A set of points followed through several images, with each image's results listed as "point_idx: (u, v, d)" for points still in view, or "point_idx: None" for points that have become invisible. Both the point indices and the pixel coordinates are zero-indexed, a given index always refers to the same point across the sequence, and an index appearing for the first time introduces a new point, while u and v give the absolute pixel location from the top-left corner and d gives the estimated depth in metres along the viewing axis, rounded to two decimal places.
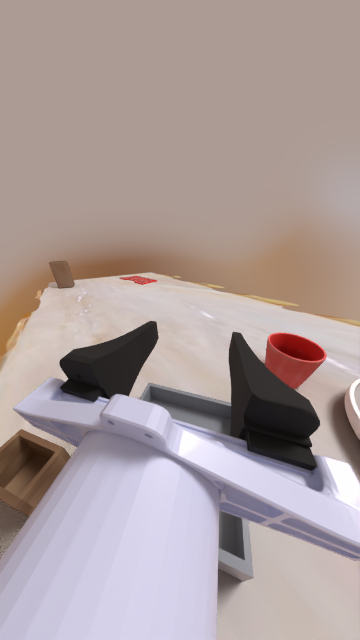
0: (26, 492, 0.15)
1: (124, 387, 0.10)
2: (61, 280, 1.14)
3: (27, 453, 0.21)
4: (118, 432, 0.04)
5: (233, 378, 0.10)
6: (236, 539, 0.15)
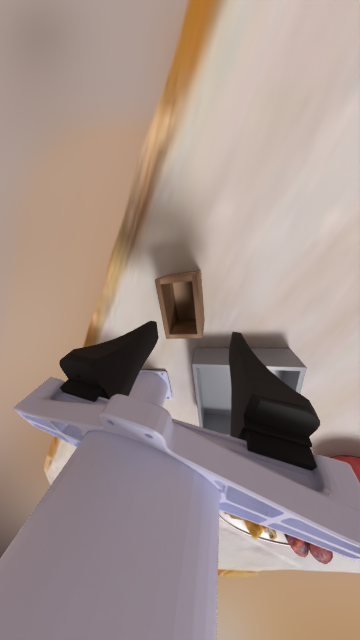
0: (173, 337, 0.19)
1: (124, 387, 0.10)
2: None
3: None
4: (118, 432, 0.04)
5: (233, 378, 0.10)
6: (210, 415, 0.31)
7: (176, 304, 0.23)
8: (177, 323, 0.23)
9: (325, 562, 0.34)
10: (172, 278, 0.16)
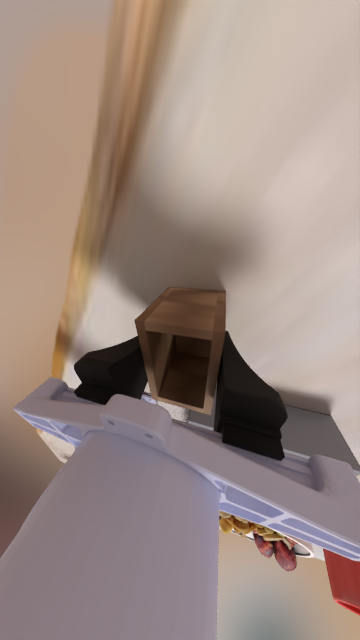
0: (163, 400, 0.12)
1: (137, 390, 0.10)
2: None
3: None
4: (118, 432, 0.04)
5: (218, 375, 0.10)
6: None
7: None
8: (174, 363, 0.15)
9: (288, 570, 0.36)
10: (170, 326, 0.08)
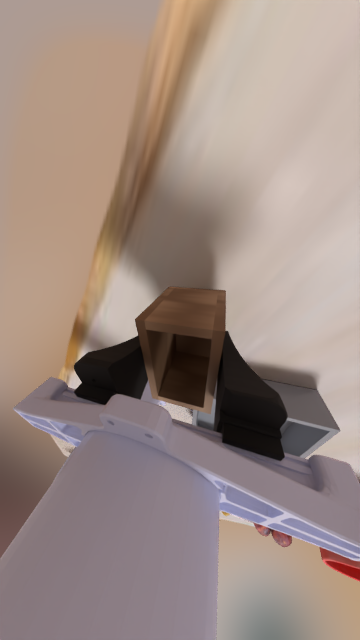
0: (163, 399, 0.12)
1: (137, 390, 0.10)
2: None
3: None
4: (118, 432, 0.04)
5: (218, 375, 0.10)
6: (204, 427, 0.29)
7: None
8: (174, 363, 0.15)
9: (283, 546, 0.38)
10: (170, 325, 0.08)
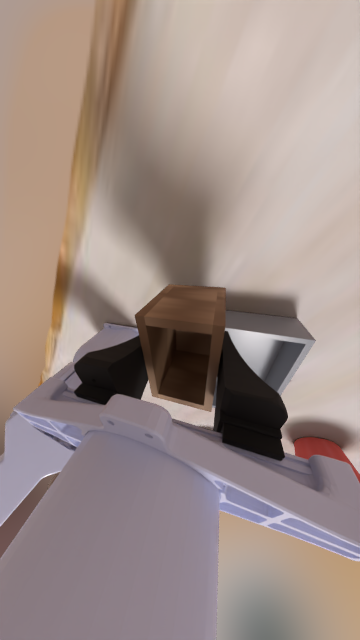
0: (163, 397, 0.12)
1: (137, 390, 0.10)
2: None
3: None
4: (118, 432, 0.04)
5: (218, 375, 0.10)
6: None
7: (176, 331, 0.15)
8: (174, 361, 0.15)
9: None
10: (170, 321, 0.08)
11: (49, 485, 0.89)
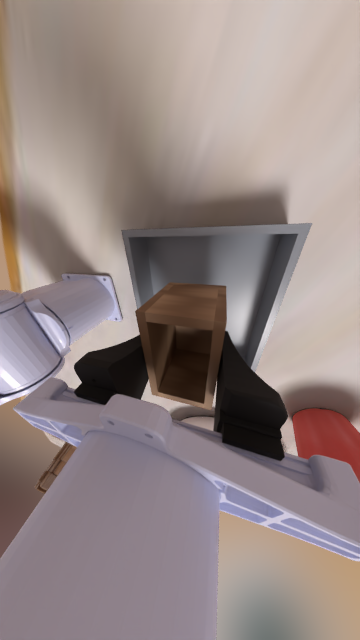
0: (163, 396, 0.12)
1: (137, 390, 0.10)
2: None
3: None
4: (118, 432, 0.04)
5: (218, 375, 0.10)
6: None
7: (176, 329, 0.15)
8: (174, 359, 0.15)
9: None
10: (171, 317, 0.08)
11: (37, 483, 0.84)
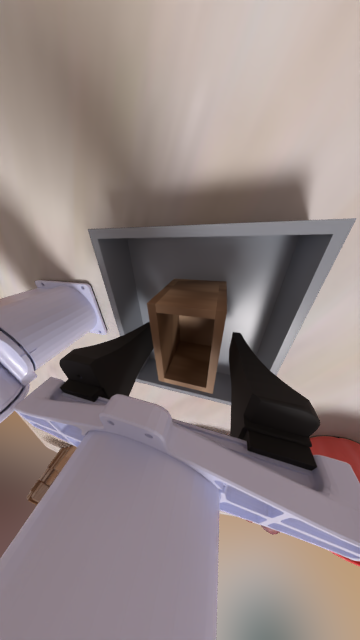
0: (169, 381, 0.13)
1: (124, 387, 0.10)
2: None
3: None
4: (118, 432, 0.04)
5: (233, 378, 0.10)
6: None
7: (180, 323, 0.16)
8: (178, 350, 0.16)
9: (272, 533, 0.30)
10: (178, 307, 0.09)
11: None
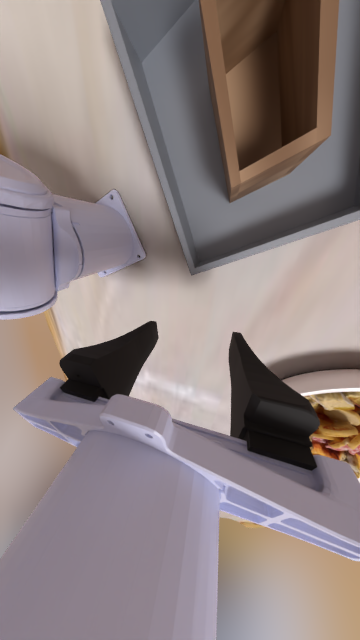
0: (248, 175, 0.09)
1: (124, 387, 0.10)
2: None
3: (273, 9, 0.08)
4: (118, 432, 0.04)
5: (233, 378, 0.10)
6: (210, 258, 0.17)
7: None
8: None
9: None
10: None
11: None
